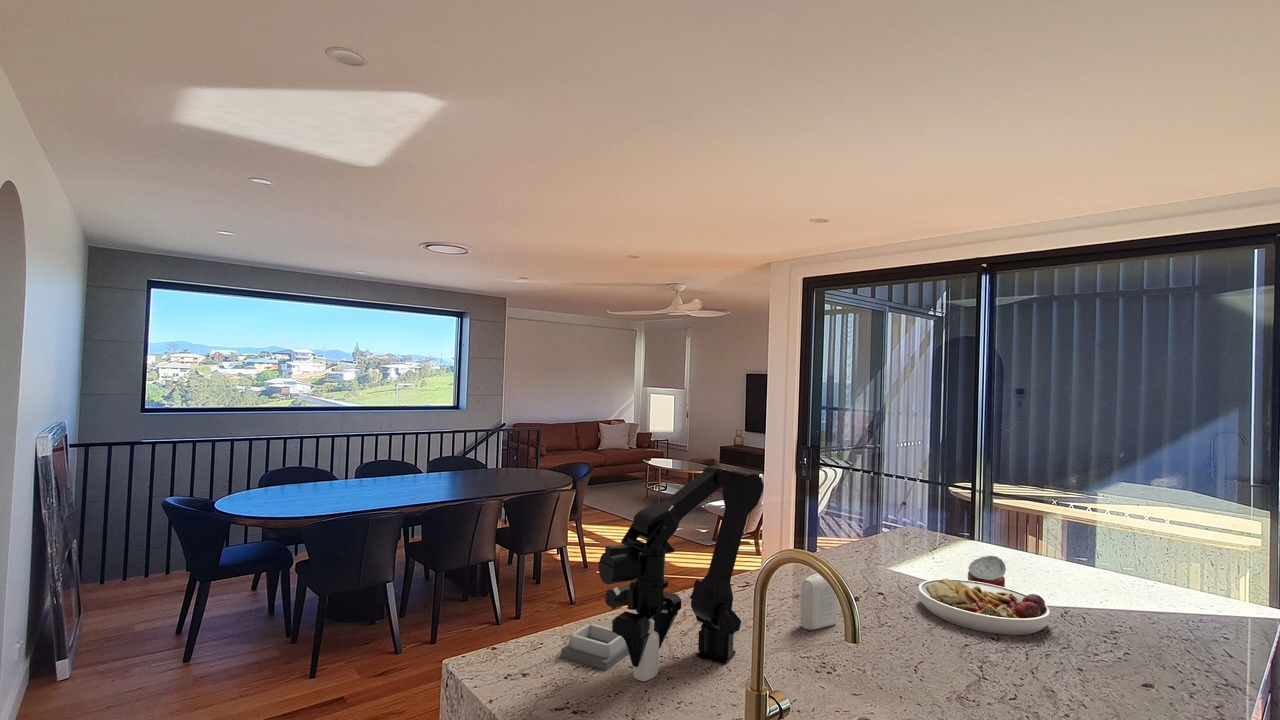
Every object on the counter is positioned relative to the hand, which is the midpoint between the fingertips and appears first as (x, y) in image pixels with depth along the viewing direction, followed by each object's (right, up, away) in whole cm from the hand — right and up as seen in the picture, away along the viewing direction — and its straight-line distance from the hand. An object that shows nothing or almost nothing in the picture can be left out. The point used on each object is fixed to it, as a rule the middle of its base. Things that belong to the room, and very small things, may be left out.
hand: (646, 657), depth 118 cm
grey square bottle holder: (-10, -4, +9) cm, 14 cm away
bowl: (+88, -9, +40) cm, 98 cm away
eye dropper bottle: (0, -4, 0) cm, 4 cm away
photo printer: (+42, -7, +29) cm, 52 cm away
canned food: (+105, -11, +67) cm, 125 cm away
